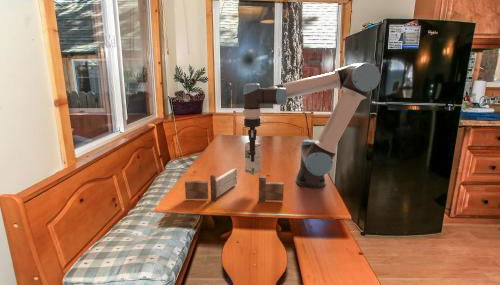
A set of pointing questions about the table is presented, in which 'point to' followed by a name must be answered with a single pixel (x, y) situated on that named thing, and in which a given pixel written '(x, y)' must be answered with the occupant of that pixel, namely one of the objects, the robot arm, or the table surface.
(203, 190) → the fence
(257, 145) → the syrup box
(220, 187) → the gate
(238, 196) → the table surface
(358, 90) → the robot arm
